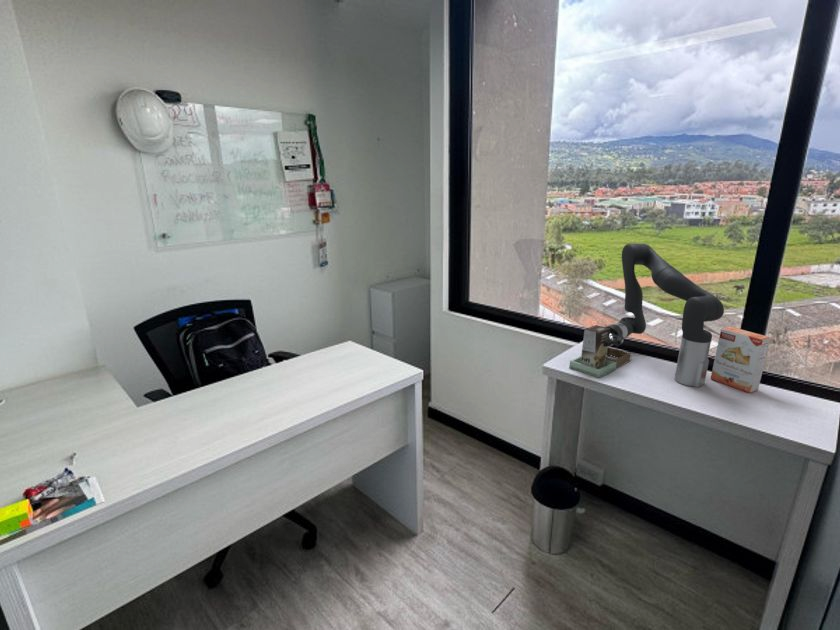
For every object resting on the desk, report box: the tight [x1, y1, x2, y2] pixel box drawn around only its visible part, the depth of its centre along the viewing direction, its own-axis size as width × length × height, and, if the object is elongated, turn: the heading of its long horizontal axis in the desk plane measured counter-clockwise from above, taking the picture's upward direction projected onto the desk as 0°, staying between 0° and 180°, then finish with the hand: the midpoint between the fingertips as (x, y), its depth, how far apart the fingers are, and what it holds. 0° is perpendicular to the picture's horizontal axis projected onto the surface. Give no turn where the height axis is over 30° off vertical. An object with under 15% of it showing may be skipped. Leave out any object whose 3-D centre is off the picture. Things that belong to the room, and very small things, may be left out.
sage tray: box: [568, 355, 617, 379], centre depth 179 cm, size 13×13×3 cm
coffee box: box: [580, 324, 610, 369], centre depth 177 cm, size 9×6×16 cm
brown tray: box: [606, 346, 632, 369], centre depth 187 cm, size 10×13×4 cm
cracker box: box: [710, 326, 772, 394], centre depth 162 cm, size 14×6×21 cm, turn 28°
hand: (594, 341), depth 176 cm, fingers open, 8 cm apart
